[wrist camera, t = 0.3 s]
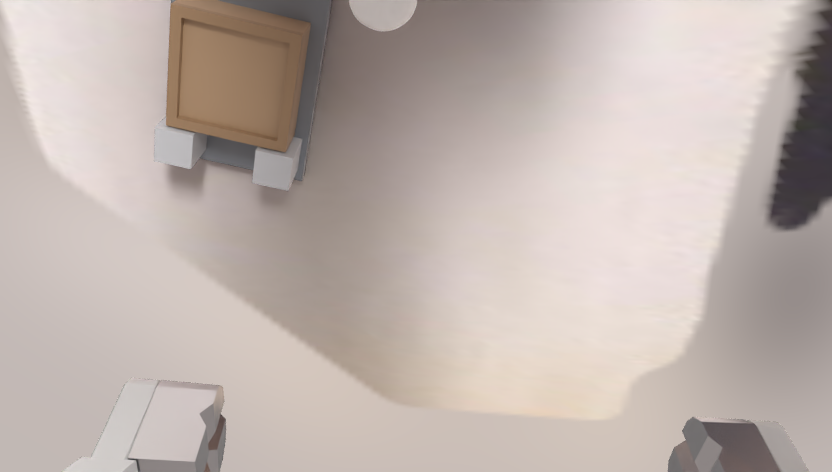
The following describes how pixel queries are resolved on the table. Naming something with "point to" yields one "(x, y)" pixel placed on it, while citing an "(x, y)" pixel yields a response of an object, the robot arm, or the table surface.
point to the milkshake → (383, 13)
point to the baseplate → (243, 85)
